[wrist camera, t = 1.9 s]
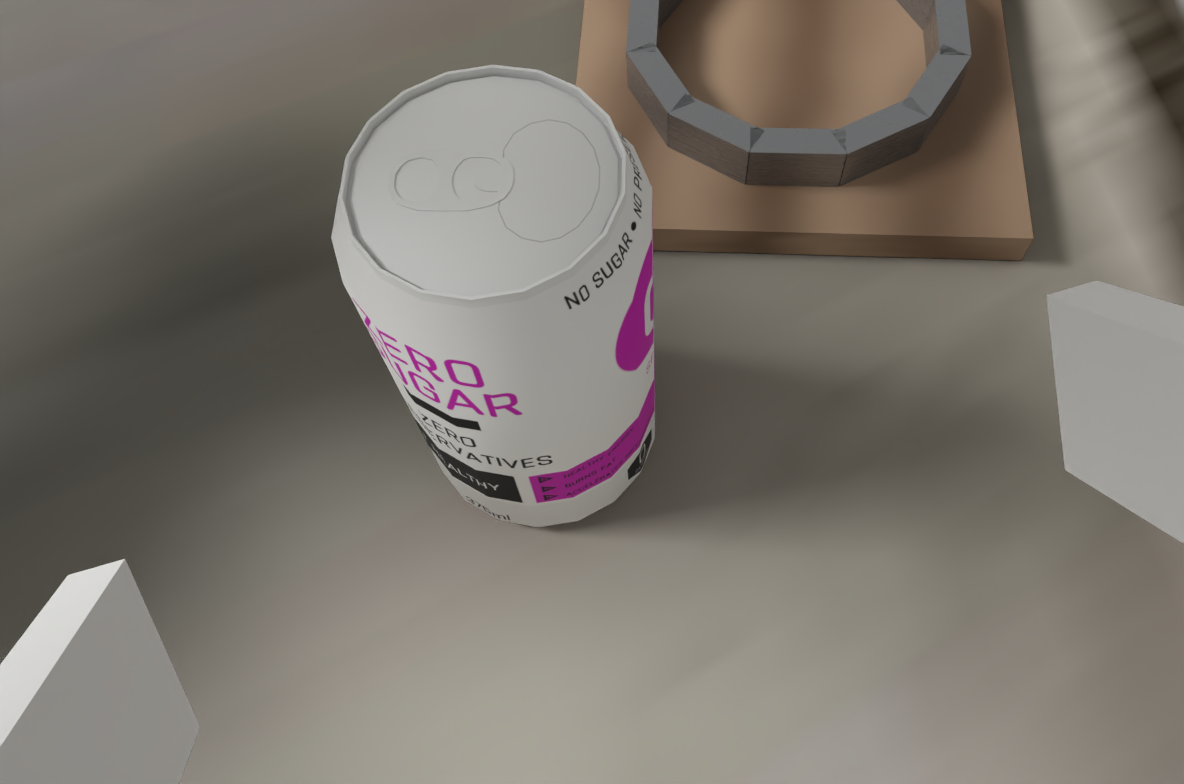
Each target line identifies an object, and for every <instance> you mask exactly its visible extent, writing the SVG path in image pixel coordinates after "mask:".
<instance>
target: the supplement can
mask: <svg viewBox="0 0 1184 784" xmlns="http://www.w3.org/2000/svg"><path fill="white" fill-rule="evenodd" d="M331 239H332V243H333V247H334V251H335V254H336V258H337V262H338V266H339V270H340V274H341V278H342V282H343V284H344V286H345V288H346V290H347V292H348V294H349V295H350V297H351V299H352V301H353V303H354V305H355V307H356V309H357V311H358V313H359V314H360V316H361V318H362V320H363V322H364V324H365V326H366V328H367V330H368V331H369V333H370V335H371V337H372V339H373V341H374V343H375V345H376V347H377V349H378V350H379V352H380V354H381V356H382V358H383V360H384V362H385V364H386V366H387V368H388V369H389V371H390V373H391V375H392V377H393V379H394V381H395V383H396V385H397V386H398V388H399V390H400V392H401V394H402V396H403V398H404V400H405V402H406V404H407V405H408V407H409V409H410V411H411V413H412V415H413V417H414V419H415V421H416V422H417V424H418V426H419V428H420V430H421V432H422V434H423V436H424V438H425V440H426V441H427V443H428V445H429V447H430V449H431V451H432V453H433V455H434V457H435V458H436V460H437V462H438V464H439V466H440V468H441V470H442V472H443V473H444V474H445V475H446V477H447V478H448V479H449V481H450V482H451V483H452V484H453V486H454V487H455V488H456V490H457V491H458V492H459V493H460V495H461V496H462V497H463V499H464V500H465V501H467V502H468V503H470V504H472V505H474V506H475V507H477V508H479V509H480V510H482V511H484V512H485V513H487V514H489V515H490V516H492V517H494V518H496V519H497V520H501V521H506V522H512V523H517V524H523V525H528V526H534V527H543V526H549V525H555V524H562V523H568V522H574V521H579V520H581V519H583V518H585V517H587V516H588V515H590V514H592V513H594V512H596V511H598V510H600V509H602V508H604V507H605V506H607V505H609V504H611V503H613V502H615V501H616V499H617V498H618V497H619V496H620V495H621V494H622V493H623V492H624V491H625V490H626V488H627V487H628V486H629V485H630V484H631V483H632V482H633V481H634V480H635V479H636V478H637V476H638V475H639V474H640V473H641V471H642V469H643V466H644V464H645V461H646V459H647V456H648V454H649V451H650V449H651V446H652V444H653V441H654V439H655V360H654V288H653V216H652V186H651V184H650V182H649V180H648V177H647V175H646V173H645V171H644V168H643V166H642V164H641V162H640V159H639V157H638V155H637V153H636V150H635V148H634V146H633V145H632V144H631V143H630V142H629V141H628V140H627V139H626V138H624V137H623V136H622V135H621V134H620V133H619V132H618V131H617V130H616V129H615V127H614V124H613V122H612V120H611V118H610V116H609V115H608V114H607V113H606V112H605V111H604V110H603V109H602V108H601V107H600V106H599V105H598V104H596V103H595V102H594V101H593V100H592V99H591V98H590V97H589V96H588V95H587V94H586V93H585V92H584V91H583V90H582V89H580V88H579V87H577V86H575V85H572V84H570V83H568V82H565V81H563V80H561V79H559V78H556V77H554V76H552V75H549V74H547V73H545V72H543V71H540V70H534V69H526V68H517V67H508V66H500V65H488V66H482V67H475V68H469V69H462V70H456V71H449V72H445V73H443V74H440V75H438V76H436V77H434V78H431V79H429V80H427V81H425V82H422V83H420V84H418V85H415V86H413V87H411V88H409V89H406V90H404V91H402V92H401V93H400V94H399V95H398V96H396V97H395V98H394V99H393V100H392V101H390V102H389V103H388V104H387V105H386V106H384V107H383V108H382V109H381V110H380V111H378V112H377V113H376V114H375V115H374V116H373V117H371V118H370V119H369V120H368V121H367V123H366V124H365V126H364V128H363V129H362V131H361V132H360V134H359V136H358V137H357V139H356V141H355V142H354V144H353V145H352V147H351V149H350V150H349V152H348V154H347V155H346V157H345V162H344V168H343V174H342V180H341V186H340V191H339V195H338V201H337V207H336V213H335V218H334V224H333V230H332V236H331Z"/></svg>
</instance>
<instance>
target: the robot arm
mask: <svg viewBox="0 0 1184 784" xmlns="http://www.w3.org/2000/svg"><path fill="white" fill-rule="evenodd" d="M1046 297H1047V306H1048V316H1049V325H1050V335H1051V344H1052V353H1053V363H1054V372H1055V382H1056V391H1057V401H1058V410H1059V419H1060V429H1061V438H1062V448H1063V457H1064V466H1065V470H1066V471H1067V472H1069V473H1070V474H1072V475H1074V476H1075V477H1077V478H1078V479H1080V480H1082V481H1083V482H1085V483H1087V484H1088V485H1090V486H1091V487H1093V488H1095V489H1096V490H1098V491H1099V492H1101V493H1103V494H1104V495H1106V496H1107V497H1109V498H1111V499H1112V500H1114V501H1115V502H1117V503H1119V504H1120V505H1122V506H1124V507H1125V508H1127V509H1128V510H1130V511H1132V512H1133V513H1135V514H1136V515H1138V516H1140V517H1141V518H1143V519H1144V520H1146V521H1148V522H1149V523H1151V524H1153V525H1154V526H1156V527H1157V528H1159V529H1161V530H1162V531H1164V532H1165V533H1167V534H1169V535H1170V536H1172V537H1173V538H1175V539H1177V540H1178V541H1180V542H1181V543H1183V544H1184V307H1183V306H1180V305H1177V304H1173V303H1170V302H1167V301H1163V300H1160V299H1157V298H1154V297H1150V296H1147V295H1144V294H1140V293H1137V292H1134V291H1130V290H1127V289H1124V288H1120V287H1117V286H1114V285H1110V284H1107V283H1104V282H1101V281H1093V282H1090V283H1086V284H1083V285H1079V286H1076V287H1072V288H1069V289H1065V290H1062V291H1058V292H1055V293H1051V294H1048V295H1046ZM199 729H200V726H199V723H198V721H197V719H196V717H195V714H194V712H193V710H192V708H191V706H190V703H189V701H188V699H187V697H186V694H185V692H184V690H183V688H182V685H181V683H180V681H179V679H178V676H177V674H176V672H175V670H174V667H173V665H172V663H171V661H170V658H169V656H168V654H167V652H166V649H165V647H164V645H163V643H162V640H161V638H160V636H159V634H158V632H157V629H156V627H155V625H154V623H153V620H152V618H151V616H150V614H149V611H148V609H147V607H146V605H145V602H144V600H143V598H142V596H141V593H140V591H139V589H138V587H137V584H136V582H135V580H134V578H133V575H132V573H131V571H130V569H129V566H128V564H127V562H126V560H125V559H122V560H119V561H115V562H112V563H108V564H105V565H101V566H98V567H94V568H91V569H87V570H84V571H80V572H77V573H73V574H70V575H68V576H67V577H66V578H65V580H64V581H63V582H62V584H61V585H60V586H59V588H58V589H57V590H56V592H55V593H54V594H53V596H52V597H51V598H50V599H49V601H48V602H47V603H46V605H45V606H44V607H43V609H42V610H41V611H40V613H39V614H38V615H37V617H36V618H35V619H34V621H33V622H32V623H31V625H30V626H29V627H28V629H27V630H26V631H25V632H24V634H23V635H22V636H21V638H20V639H19V640H18V642H17V643H16V644H15V646H14V647H13V648H12V650H11V651H10V652H9V654H8V655H7V656H6V658H5V659H4V660H3V662H2V663H1V664H0V784H179V783H180V780H181V778H182V775H183V772H184V770H185V767H186V764H187V762H188V759H189V756H190V754H191V751H192V748H193V745H194V743H195V740H196V737H197V735H198V732H199Z"/></svg>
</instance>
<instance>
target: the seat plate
mask: <svg viewBox="0 0 1184 784" xmlns="http://www.w3.org/2000/svg"><path fill="white" fill-rule="evenodd" d="M965 3H966V11H967V20H968V28H969V37H970V46H971V54H972V56H971V58H970V61H969V64H968V66H967V69H966V72H965V75H964V77H963V80H962V83H961V85H960V88H959V91H958V93H957V94H956V96H955V97H954V99H953V100H952V102H951V103H950V105H949V106H948V108H947V109H946V111H945V112H944V113H943V115H942V116H941V118H940V119H939V121H938V122H937V124H936V125H935V127H934V128H933V130H932V131H931V133H930V134H929V136H928V137H927V139H926V140H925V142H924V143H923V145H922V146H921V148H920V149H919V151H918V152H916V153H914V154H912V155H910V156H907V157H905V158H903V159H901V160H898V161H896V162H894V163H892V164H889V165H887V166H885V167H883V168H880V169H878V170H876V171H874V172H871V173H869V174H867V175H865V176H863V177H860V178H858V179H856V180H854V181H851V182H849V183H847V184H845V185H842V186H840V187H839V186H838V187H812V186H766V185H746V184H745V185H744V184H742V183H740V182H738V181H736V180H734V179H732V178H730V177H728V176H726V175H724V174H722V173H720V172H718V171H716V170H714V169H712V168H710V167H708V166H705V165H703V164H701V163H699V162H697V161H695V160H693V159H691V158H689V157H687V156H685V155H683V154H681V153H679V152H677V151H675V150H673V149H671V148H669V147H667V145H666V144H665V142H664V141H663V139H662V138H661V136H660V135H659V133H658V132H657V130H656V129H655V127H654V126H653V124H652V123H651V121H650V120H649V118H648V117H647V115H646V114H645V112H644V111H643V109H642V108H641V106H640V105H639V103H638V102H637V100H636V99H635V97H634V96H633V94H632V93H631V91H630V90H629V88H628V83H627V60H626V47H627V35H628V22H629V9H630V0H585V4H584V13H583V23H582V32H581V42H580V51H579V61H578V70H577V80H576V86H577V87H579V88H580V89H582V90H583V91H584V92H585V93H586V94H587V95H588V96H589V97H590V98H591V99H592V100H593V101H594V102H595V103H596V104H598V105H599V106H600V107H601V108H602V109H603V110H604V111H605V112H606V113H607V114H608V115H609V116H610V118H611V120H612V122H613V124H614V127H615V129H616V130H617V131H618V132H619V133H620V134H621V135H622V136H623V137H624V138H626V139H627V140H628V141H629V142H630V143H631V144H632V145H633V146H634V148H635V150H636V153H637V155H638V157H639V159H640V162H641V164H642V166H643V168H644V171H645V173H646V175H647V177H648V180H649V182H650V184H651V186H652V216H653V250H662V251H698V252H734V253H770V254H806V255H842V256H878V257H914V258H950V259H986V260H1022V258H1023V256H1024V254H1025V253H1026V251H1027V249H1028V247H1029V246H1030V244H1031V242H1032V240H1033V239H1034V238H1033V231H1032V224H1031V216H1030V209H1029V202H1028V194H1027V187H1026V180H1025V172H1024V165H1023V158H1022V150H1021V143H1020V136H1019V128H1018V121H1017V114H1016V106H1015V99H1014V92H1013V84H1012V77H1011V70H1010V62H1009V55H1008V48H1007V40H1006V33H1005V26H1004V18H1003V11H1002V4H1001V0H965ZM658 50H659V51H660V52H661V54H662V55H663V57H664V58H665V60H666V61H667V62H668V64H669V65H670V67H671V68H672V70H673V71H674V72H675V74H676V75H677V77H678V78H679V80H680V81H681V82H682V84H683V85H684V87H685V88H686V90H687V91H688V92H689V94H690V95H691V97H694V98H696V99H698V100H700V101H702V102H704V103H706V104H709V105H711V106H713V107H715V108H717V109H719V110H721V111H724V112H726V113H728V114H730V115H732V116H734V117H736V118H739V119H741V120H743V121H745V122H747V123H749V124H751V125H753V126H756V127H758V128H808V129H839V128H841V127H843V126H845V125H848V124H850V123H852V122H855V121H857V120H859V119H861V118H864V117H866V116H868V115H871V114H873V113H875V112H877V111H880V110H882V109H884V108H887V107H889V106H891V105H893V104H896V103H898V102H900V101H903V100H905V99H906V97H907V96H908V94H909V93H910V91H911V90H912V88H913V87H914V86H915V84H916V83H917V81H918V80H919V78H920V77H921V75H922V74H923V73H924V71H925V70H926V59H925V48H924V37H923V30H922V29H921V28H920V27H919V26H918V25H917V23H916V22H915V21H914V20H913V19H912V18H911V17H910V15H909V14H908V13H907V12H906V11H905V10H904V9H903V7H902V6H901V5H900V4H899V3H898V2H897V1H896V0H683V1H682V3H681V4H680V5H679V6H678V7H677V9H676V10H675V11H674V12H673V13H672V14H671V16H670V17H669V18H668V19H667V20H666V22H665V23H664V24H663V25H662V26H661V27H660V30H659V47H658Z"/></svg>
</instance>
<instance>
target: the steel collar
mask: <svg viewBox="0 0 1184 784" xmlns="http://www.w3.org/2000/svg"><path fill="white" fill-rule="evenodd" d="M682 1H683V0H630V9H629V22H628V35H627V47H626V60H627V83H628V88H629V90H630V91H631V93H632V94H633V96H634V97H635V99H636V100H637V102H638V103H639V105H640V106H641V108H642V109H643V111H644V112H645V114H646V115H647V117H648V118H649V120H650V121H651V123H652V124H653V126H654V127H655V129H656V130H657V132H658V133H659V135H660V136H661V138H662V139H663V141H664V142H665V144H666V145H667V147H669V148H671V149H673V150H675V151H677V152H679V153H681V154H683V155H685V156H687V157H689V158H691V159H693V160H695V161H697V162H699V163H701V164H703V165H705V166H708V167H710V168H712V169H714V170H716V171H718V172H720V173H722V174H724V175H726V176H728V177H730V178H732V179H734V180H736V181H738V182H740V183H742V184H744V185H745V184H746V185H766V186H812V187H838V186H839V187H840V186H842V185H845V184H847V183H849V182H851V181H854V180H856V179H858V178H860V177H863V176H865V175H867V174H869V173H871V172H874V171H876V170H878V169H880V168H883V167H885V166H887V165H889V164H892V163H894V162H896V161H898V160H901V159H903V158H905V157H907V156H910V155H912V154H914V153H916V152H918V151H919V149H920V148H921V146H922V145H923V143H924V142H925V140H926V139H927V137H928V136H929V134H930V133H931V131H932V130H933V128H934V127H935V125H936V124H937V122H938V121H939V119H940V118H941V116H942V115H943V113H944V112H945V111H946V109H947V108H948V106H949V105H950V103H951V102H952V100H953V99H954V97H955V96H956V94H957V93H958V91H959V88H960V85H961V83H962V80H963V77H964V75H965V72H966V69H967V66H968V64H969V61H970V58H971V56H972V54H971V46H970V37H969V28H968V20H967V11H966V3H965V0H896V1H897V2H898V3H899V4H900V5H901V6H902V7H903V9H904V10H905V11H906V12H907V13H908V14H909V15H910V17H911V18H912V19H913V20H914V21H915V22H916V23H917V25H918V26H919V27H920V28H921V29H922V30H923V37H924V48H925V59H926V70H925V71H924V73H923V74H922V75H921V77H920V78H919V80H918V81H917V83H916V84H915V86H914V87H913V88H912V90H911V91H910V93H909V94H908V96H907V97H906V99H905V100H903V101H900V102H898V103H896V104H893V105H891V106H889V107H887V108H884V109H882V110H880V111H877V112H875V113H873V114H871V115H868V116H866V117H864V118H861V119H859V120H857V121H855V122H852V123H850V124H848V125H845V126H843V127H841V128H839V129H808V128H758V127H756V126H753V125H751V124H749V123H747V122H745V121H743V120H741V119H739V118H736V117H734V116H732V115H730V114H728V113H726V112H724V111H721V110H719V109H717V108H715V107H713V106H711V105H709V104H706V103H704V102H702V101H700V100H698V99H696V98H694V97H691V95H690V94H689V92H688V91H687V90H686V88H685V87H684V85H683V84H682V82H681V81H680V80H679V78H678V77H677V75H676V74H675V72H674V71H673V70H672V68H671V67H670V65H669V64H668V62H667V61H666V60H665V58H664V57H663V55H662V54H661V52H660V51H659V50H658V47H659V30H660V27H661V26H662V25H663V24H664V23H665V22H666V20H667V19H668V18H669V17H670V16H671V14H672V13H673V12H674V11H675V10H676V9H677V7H678V6H679V5H680V4H681V3H682Z"/></svg>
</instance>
